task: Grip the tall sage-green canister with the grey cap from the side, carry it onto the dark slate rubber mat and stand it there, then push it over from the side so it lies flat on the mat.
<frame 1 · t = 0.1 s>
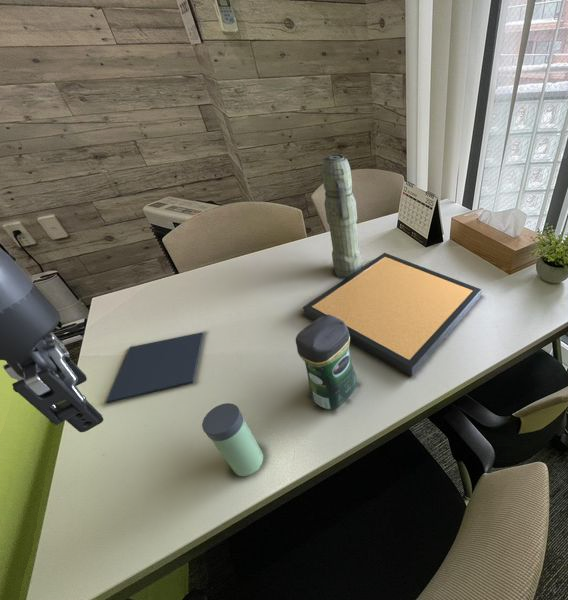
hand: (84, 403, 39), 24 cm above the table, tool pointing down, fingers open, 8 cm apart
thermos: (348, 271, 106), on the table
canister: (248, 461, 57), on the table
cork board: (395, 306, 91), on the table
mat: (160, 364, 75), on the table
coffee jar: (334, 391, 69), on the table
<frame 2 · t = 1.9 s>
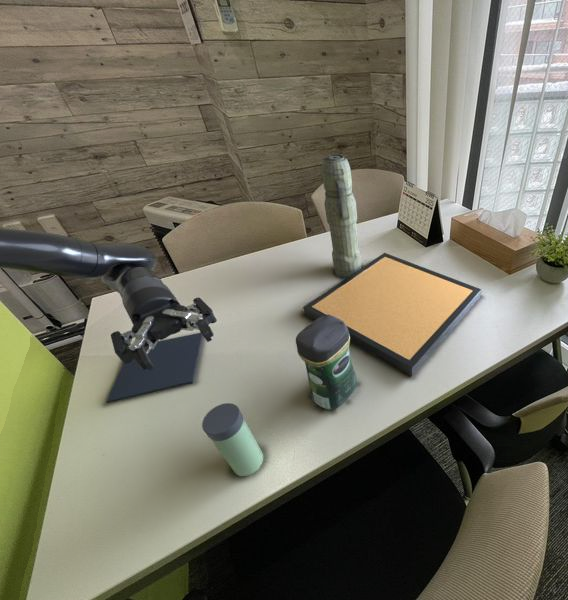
hand: (180, 351, 51), 20 cm above the table, tool horizontal, fingers open, 8 cm apart
nothing on the table moved.
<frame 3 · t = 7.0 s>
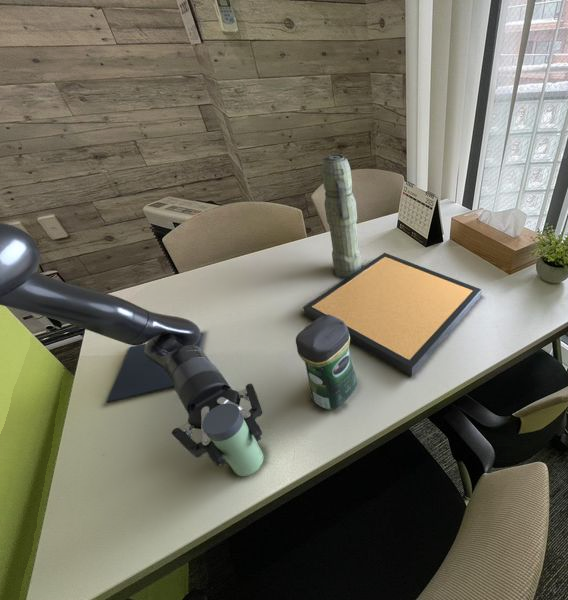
hand: (241, 449, 51), 8 cm above the table, tool horizontal, fingers closed on canister, 5 cm apart
canister: (248, 461, 57), on the table, touching gripper
everything else where it was.
when the fingers open (9 cm above the table, at t = 17.0 s): canister stays where it is, resting on mat.
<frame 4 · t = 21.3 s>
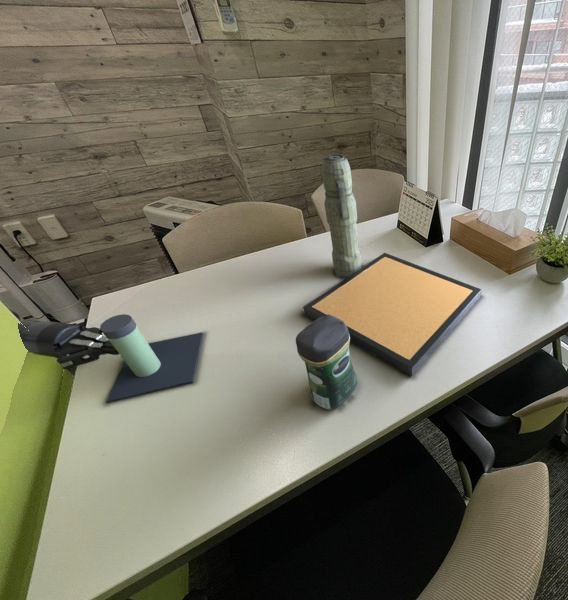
hand: (123, 348, 69), 7 cm above the table, tool horizontal, fingers closed
canister: (147, 368, 73), point 1 cm above the table, touching gripper, mat
everything else where it was.
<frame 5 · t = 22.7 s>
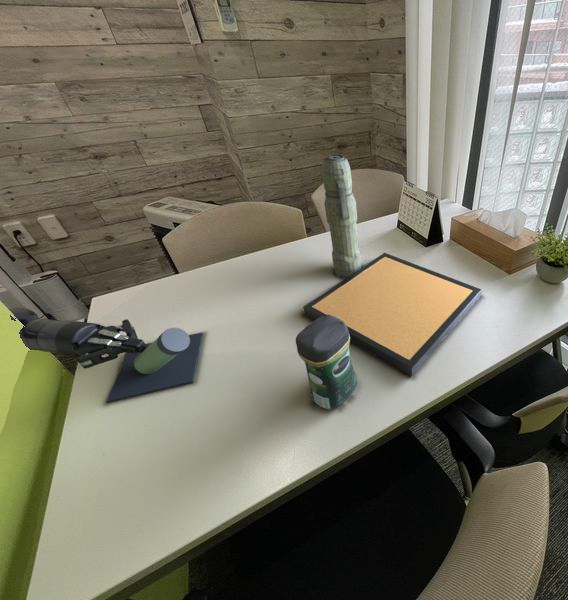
hand: (142, 346, 68), 8 cm above the table, tool horizontal, fingers closed
canister: (147, 363, 72), point 3 cm above the table, tilted 51°, touching gripper, mat
everything else where it was.
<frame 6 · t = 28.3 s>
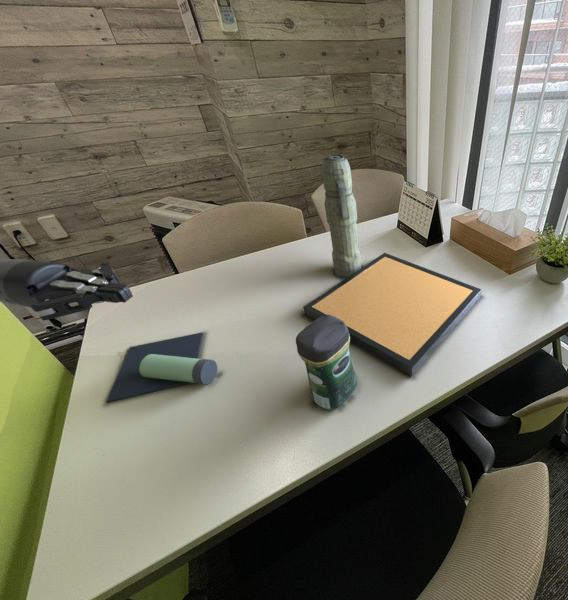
hand: (126, 294, 50), 28 cm above the table, tool horizontal, fingers closed
canister: (149, 365, 71), point 3 cm above the table, tilted 90°, touching mat
everything else where it was.
at the end: canister tilted 90°; canister inside the target area on the mat (3.0 cm from its centre), point 3.1 cm above the mat's base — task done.
